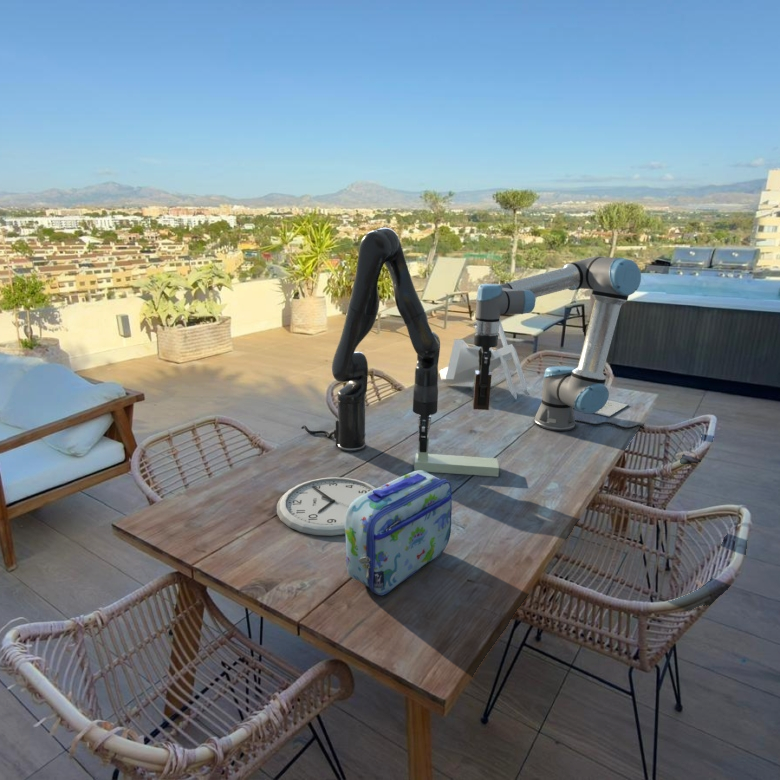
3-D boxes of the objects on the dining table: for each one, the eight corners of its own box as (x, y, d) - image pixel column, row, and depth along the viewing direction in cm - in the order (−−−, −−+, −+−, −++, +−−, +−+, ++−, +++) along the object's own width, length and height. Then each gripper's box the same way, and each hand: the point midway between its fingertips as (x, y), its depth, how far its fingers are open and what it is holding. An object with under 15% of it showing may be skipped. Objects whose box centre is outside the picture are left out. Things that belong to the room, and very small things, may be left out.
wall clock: (392, 527, 129) (268, 531, 127) (391, 533, 130) (269, 537, 127) (383, 473, 158) (282, 475, 155) (383, 478, 158) (282, 480, 156)
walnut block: (487, 405, 176) (490, 371, 173) (488, 410, 172) (491, 375, 168) (472, 404, 177) (475, 370, 173) (473, 409, 172) (475, 374, 169)
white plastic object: (461, 429, 252) (437, 405, 227) (444, 352, 274) (420, 323, 250) (535, 404, 240) (518, 377, 215) (510, 326, 262) (492, 293, 237)
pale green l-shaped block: (496, 466, 168) (499, 435, 164) (498, 476, 161) (501, 443, 158) (415, 461, 170) (416, 430, 167) (414, 470, 164) (415, 438, 161)
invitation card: (608, 416, 214) (573, 407, 224) (608, 416, 214) (573, 408, 224) (628, 404, 229) (594, 396, 238) (628, 405, 229) (594, 397, 238)
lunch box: (373, 608, 104) (374, 515, 98) (339, 582, 112) (337, 495, 105) (455, 554, 122) (460, 473, 116) (421, 535, 129) (424, 458, 123)
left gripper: (415, 389, 167) (413, 439, 172) (411, 404, 154) (409, 457, 159) (438, 391, 166) (436, 441, 171) (437, 405, 153) (434, 459, 158)
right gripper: (473, 327, 176) (469, 393, 183) (475, 338, 159) (470, 410, 166) (496, 328, 175) (490, 394, 182) (500, 339, 158) (494, 412, 165)
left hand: (423, 448), depth 165 cm, fingers closed on pale green l-shaped block, 4 cm apart
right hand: (481, 402), depth 174 cm, fingers closed on walnut block, 5 cm apart
